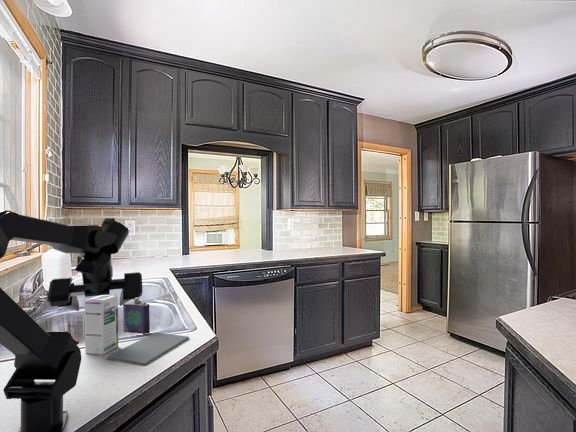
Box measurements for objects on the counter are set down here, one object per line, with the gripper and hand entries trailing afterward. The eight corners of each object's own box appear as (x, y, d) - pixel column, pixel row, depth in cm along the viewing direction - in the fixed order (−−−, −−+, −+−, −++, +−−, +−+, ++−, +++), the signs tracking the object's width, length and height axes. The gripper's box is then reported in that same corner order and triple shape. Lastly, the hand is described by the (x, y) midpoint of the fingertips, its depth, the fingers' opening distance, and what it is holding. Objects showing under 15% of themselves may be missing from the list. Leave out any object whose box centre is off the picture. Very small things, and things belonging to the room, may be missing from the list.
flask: (121, 332, 100) (121, 298, 100) (127, 328, 103) (128, 296, 103) (146, 334, 98) (146, 300, 98) (152, 331, 101) (152, 297, 101)
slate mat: (144, 365, 77) (144, 363, 77) (106, 359, 81) (106, 356, 81) (188, 338, 94) (188, 336, 94) (155, 334, 98) (155, 332, 98)
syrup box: (103, 355, 83) (103, 299, 83) (83, 353, 84) (84, 298, 84) (118, 346, 89) (118, 294, 89) (100, 344, 90) (100, 293, 90)
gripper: (141, 240, 79) (139, 277, 89) (50, 243, 71) (59, 283, 80) (143, 277, 72) (141, 312, 82) (42, 285, 64) (52, 323, 73)
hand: (100, 306), depth 80 cm, fingers open, 9 cm apart
